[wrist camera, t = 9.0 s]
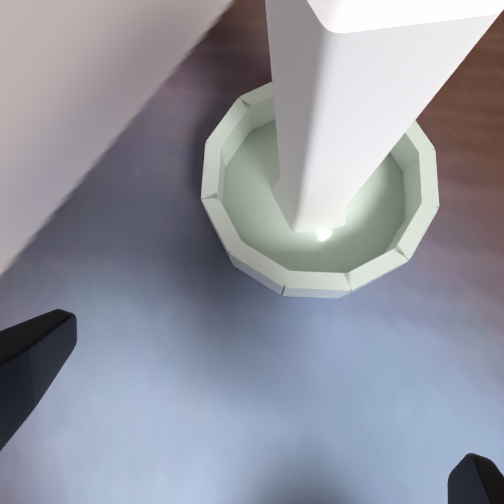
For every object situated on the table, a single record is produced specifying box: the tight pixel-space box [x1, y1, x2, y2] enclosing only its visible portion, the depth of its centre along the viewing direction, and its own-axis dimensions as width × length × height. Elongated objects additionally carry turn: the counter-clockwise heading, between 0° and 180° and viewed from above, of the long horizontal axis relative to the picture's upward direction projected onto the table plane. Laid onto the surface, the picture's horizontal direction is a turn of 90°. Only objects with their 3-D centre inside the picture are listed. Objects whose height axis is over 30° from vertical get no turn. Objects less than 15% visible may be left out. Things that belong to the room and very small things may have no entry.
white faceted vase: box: [265, 0, 504, 233], centre depth 11 cm, size 5×4×15 cm
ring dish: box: [201, 82, 439, 299], centre depth 18 cm, size 10×10×2 cm
